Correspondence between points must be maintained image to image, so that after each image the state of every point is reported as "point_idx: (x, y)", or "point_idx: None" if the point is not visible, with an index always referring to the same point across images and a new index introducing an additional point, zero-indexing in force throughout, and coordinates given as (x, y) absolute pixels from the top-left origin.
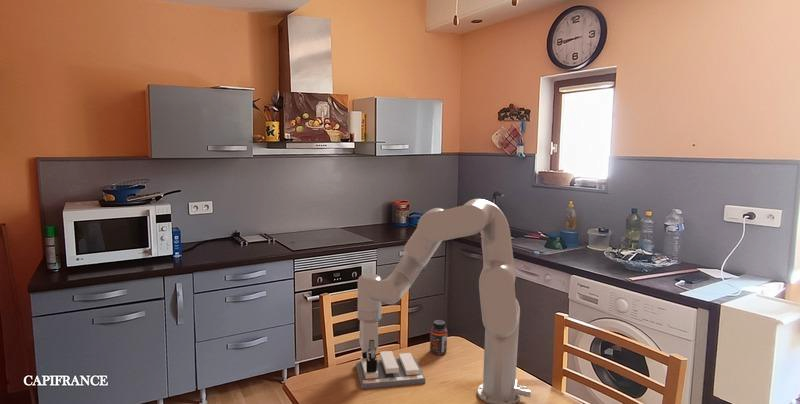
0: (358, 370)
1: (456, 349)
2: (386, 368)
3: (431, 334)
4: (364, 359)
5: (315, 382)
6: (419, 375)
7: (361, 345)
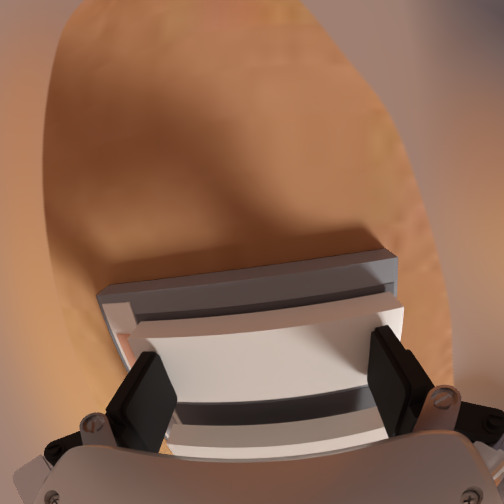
0: (262, 279)
1: None
2: (169, 444)
3: None
4: (355, 337)
5: (175, 21)
6: None
7: (135, 500)
